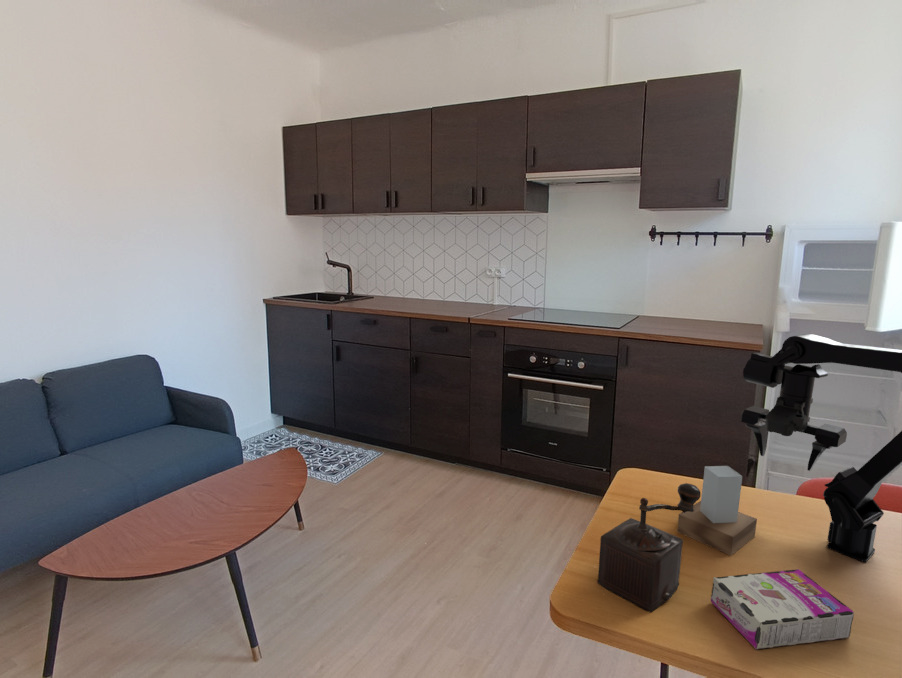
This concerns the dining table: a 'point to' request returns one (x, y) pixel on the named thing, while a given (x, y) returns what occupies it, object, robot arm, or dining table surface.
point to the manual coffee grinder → (644, 556)
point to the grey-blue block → (721, 494)
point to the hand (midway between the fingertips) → (785, 462)
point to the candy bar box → (781, 608)
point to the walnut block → (717, 530)
